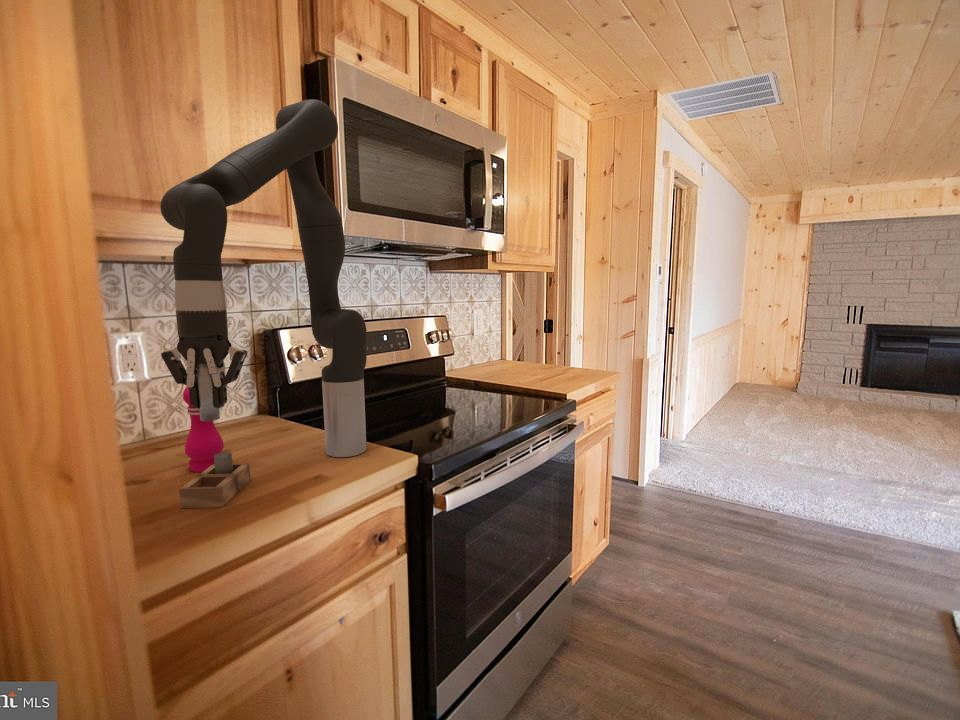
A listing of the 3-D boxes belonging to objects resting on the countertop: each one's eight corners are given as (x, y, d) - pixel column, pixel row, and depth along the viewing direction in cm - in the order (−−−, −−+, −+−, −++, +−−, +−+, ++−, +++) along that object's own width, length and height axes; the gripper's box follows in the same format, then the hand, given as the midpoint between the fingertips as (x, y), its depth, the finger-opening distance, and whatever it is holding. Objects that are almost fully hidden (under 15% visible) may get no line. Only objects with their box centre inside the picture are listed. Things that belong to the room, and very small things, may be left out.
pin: (205, 416, 85) (201, 361, 84) (223, 416, 86) (218, 361, 84) (197, 421, 82) (192, 363, 81) (215, 421, 83) (210, 363, 81)
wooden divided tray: (214, 480, 95) (211, 449, 94) (250, 479, 96) (248, 448, 95) (181, 508, 84) (177, 472, 83) (222, 507, 84) (219, 471, 83)
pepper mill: (216, 458, 108) (209, 371, 105) (231, 465, 104) (223, 374, 101) (181, 467, 103) (172, 375, 100) (194, 476, 98) (185, 380, 95)
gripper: (252, 307, 86) (258, 401, 88) (170, 307, 85) (178, 402, 87) (235, 309, 78) (242, 412, 81) (144, 308, 77) (154, 413, 80)
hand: (209, 406), depth 84 cm, fingers closed on pin, 3 cm apart
